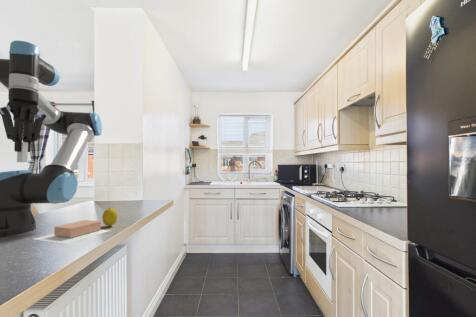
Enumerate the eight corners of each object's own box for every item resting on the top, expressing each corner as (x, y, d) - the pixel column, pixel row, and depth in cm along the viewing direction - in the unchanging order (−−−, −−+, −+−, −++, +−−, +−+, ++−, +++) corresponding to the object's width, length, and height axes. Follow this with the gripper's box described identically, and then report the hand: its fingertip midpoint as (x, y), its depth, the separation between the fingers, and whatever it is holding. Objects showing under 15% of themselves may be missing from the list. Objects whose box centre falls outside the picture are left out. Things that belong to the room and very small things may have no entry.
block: (54, 226, 89) (85, 219, 100) (54, 236, 89) (85, 228, 100) (70, 228, 86) (100, 221, 97) (70, 238, 86) (100, 230, 97)
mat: (31, 239, 86) (31, 239, 86) (80, 227, 102) (80, 227, 102) (65, 245, 80) (65, 244, 80) (111, 231, 97) (111, 230, 97)
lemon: (113, 228, 101) (113, 208, 101) (99, 228, 101) (99, 208, 101) (119, 225, 106) (120, 206, 107) (106, 225, 107) (107, 206, 107)
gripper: (7, 83, 75) (5, 161, 75) (52, 94, 88) (50, 162, 87) (-8, 85, 78) (-10, 161, 77) (38, 96, 90) (36, 162, 90)
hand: (22, 162), depth 82 cm, fingers closed
